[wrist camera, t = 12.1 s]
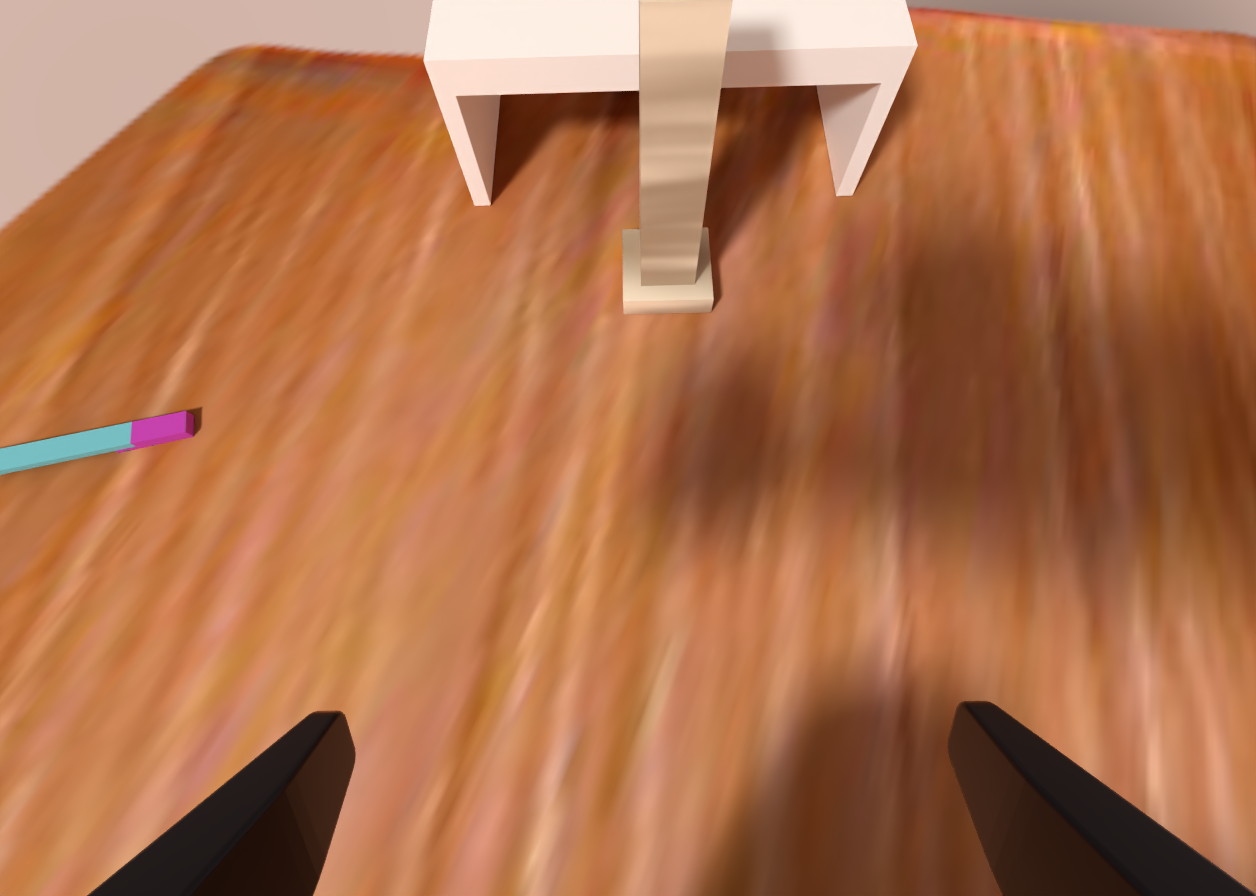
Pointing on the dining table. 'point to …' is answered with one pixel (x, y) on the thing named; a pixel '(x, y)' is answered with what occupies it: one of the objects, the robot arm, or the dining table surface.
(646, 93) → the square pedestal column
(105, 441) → the squeegee
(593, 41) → the white footstool bench
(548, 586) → the dining table surface
